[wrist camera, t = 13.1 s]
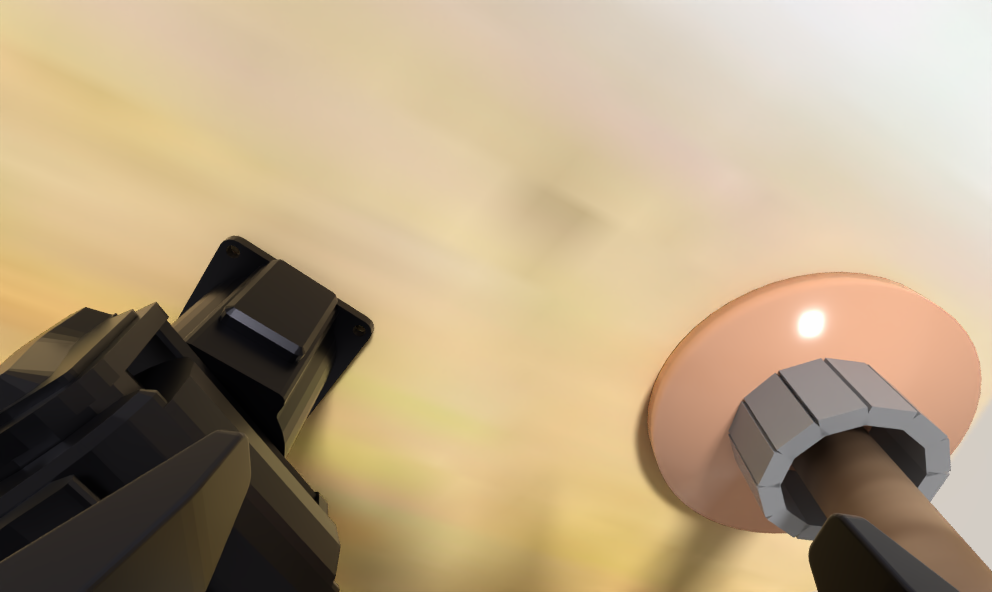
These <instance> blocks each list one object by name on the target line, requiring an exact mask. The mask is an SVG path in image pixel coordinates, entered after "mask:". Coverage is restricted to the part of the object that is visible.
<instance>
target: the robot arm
mask: <svg viewBox="0 0 992 592" xmlns="http://www.w3.org/2000/svg"><path fill="white" fill-rule="evenodd" d="M231 246H235V247H237V248H238V249H239V251H240V254H236V253H234V252H233V251H232V249H231ZM168 317H169V316H168V315H167V314H166V313H165V312H164V310H163V309H162V308H161V307H160V306H159V305H158V303H157V302H154V303H152V304H150V305H148V306H146V307H144V308H142V309H140V310H138V311H136V312H135V311H134V310H133V309H132V310H129V311H127V312H124V313H122V314H120V315H117V314H116V313H115V314H113V315H111V314H107V313H104V312H100V311H97V310H94V309H90V308H87V307H85V308H83V309H81V310H79V311H77V312H75V313H73V314H71V315H69V316H68V317H66V318H65V319H63V320H62V321H60V322H59V323H57V324H55V325H54V326H52V327H51V328H49V329H48V330H46V331H45V332H43V333H42V334H40V335H39V336H37V337H36V338H34V339H33V340H31V341H30V342H28V343H27V344H25V345H24V346H23V347H21V348H20V349H18V350H17V351H16V352H14V353H13V354H12V355H11V356H10V357H9V358H8V359H6V360H5V361H4V362H3V363H2V364H1V365H0V592H339V590H340V589H339V586H338V584H337V583H336V582H335V581H334V579H335V576H336V570H337V564H338V558H339V552H340V541H339V537H338V532H337V528H336V525H335V524H334V522H333V521H332V520H331V519H330V518H329V517H328V503H327V501H326V500H325V499H324V498H323V497H322V496H321V494H320V493H319V492H314V491H313V490H312V489H311V488H310V486H309V485H308V484H307V483H306V482H305V481H304V479H303V478H302V477H301V476H300V475H299V474H298V473H297V471H296V470H295V469H294V468H293V467H292V466H291V464H290V463H289V462H288V461H287V460H286V457H287V455H288V453H289V451H290V449H291V448H292V446H293V444H294V442H295V440H296V438H297V436H298V434H299V432H300V430H301V428H302V426H303V424H304V422H305V420H306V419H307V418H308V416H309V415H310V414H311V412H312V411H313V410H314V409H315V407H316V406H317V405H318V403H319V402H320V401H321V400H322V398H323V397H324V396H325V394H326V393H327V392H328V391H329V389H330V388H331V387H332V385H333V384H334V383H335V382H336V380H337V379H338V378H339V376H340V375H341V374H342V373H343V371H344V370H345V369H346V368H347V366H348V365H349V364H350V362H351V361H352V360H353V359H354V357H355V356H356V355H357V353H358V352H359V351H360V350H361V348H362V347H363V346H364V344H365V343H366V342H367V341H368V339H369V338H370V336H371V334H372V332H373V329H374V324H373V322H372V321H371V320H370V319H369V318H368V317H367V316H365V315H363V314H362V313H360V312H359V311H357V310H356V309H354V308H352V307H351V306H349V305H348V304H346V303H345V302H343V301H341V300H340V299H338V298H337V297H336V295H335V294H334V293H333V292H331V291H330V290H328V289H327V288H325V287H324V286H322V285H320V284H319V283H317V282H316V281H314V280H313V279H311V278H309V277H308V276H306V275H305V274H303V273H302V272H300V271H298V270H297V269H295V268H294V267H292V266H291V265H289V264H287V263H286V262H284V261H283V260H277V259H275V258H274V257H272V256H271V255H269V254H267V253H266V252H264V251H263V250H261V249H260V248H258V247H256V246H255V245H253V244H252V243H250V242H249V241H247V240H245V239H244V238H242V237H239V236H231V237H228V238H227V239H226V240H224V241H223V242H222V243H221V244H220V246H219V248H218V250H217V251H216V253H215V255H214V257H213V258H212V260H211V262H210V264H209V265H208V267H207V269H206V271H205V272H204V274H203V276H202V278H201V279H200V281H199V283H198V285H197V286H196V288H195V290H194V292H193V293H192V295H191V297H190V298H189V300H188V302H187V304H186V305H185V307H184V309H183V311H182V312H181V314H180V316H179V318H178V319H177V320H176V321H175V322H174V323H173V324H172V325H170V323H169V322H168V321H167V319H168ZM358 325H360V326H363V327H364V328H365V331H359V330H358V329H357V328H356V326H358ZM809 563H810V567H811V570H812V574H813V577H814V580H815V584H816V587H817V590H818V592H960V591H959V590H958V589H956V588H955V587H954V586H952V585H951V584H950V583H948V582H947V581H946V580H944V579H943V578H942V577H941V576H939V575H938V574H937V573H935V572H934V571H933V570H931V569H930V568H929V567H928V566H926V565H925V564H924V563H922V562H921V561H920V560H918V559H917V558H916V557H914V556H913V555H912V554H911V553H909V552H908V551H907V550H905V549H904V548H903V547H901V546H900V545H899V544H898V543H896V542H895V541H894V540H892V539H891V538H890V537H888V536H887V535H886V534H884V533H883V532H882V531H881V530H879V529H878V528H877V527H875V526H874V525H873V524H871V523H870V522H869V521H867V520H866V519H865V518H863V517H860V516H856V515H849V514H842V513H834V514H832V515H830V516H829V517H828V518H827V520H826V521H825V523H824V525H823V526H822V528H821V529H820V531H819V533H818V534H817V536H816V537H815V539H814V541H813V542H812V544H811V546H810V548H809Z"/></svg>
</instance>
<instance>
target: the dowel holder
mask: <svg viewBox="0 0 992 592" xmlns="http://www.w3.org/2000/svg"><path fill="white" fill-rule="evenodd" d="M980 391H981V370H980V362H979V359H978V355H977V352H976V349H975V346H974V345H973V343H972V341H971V339H970V337H969V336H968V334H967V332H966V331H965V330H964V329H963V327H962V326H961V325H960V324H959V323H958V322H957V320H956V319H955V318H953V317H952V316H951V315H949V314H948V313H947V312H946V311H944V310H943V309H942V308H941V307H939V306H937V305H936V304H934V303H933V302H931V301H930V300H928V299H927V298H925V297H923V296H922V295H920V294H919V293H917V292H915V291H913V290H912V289H910V288H908V287H906V286H904V285H902V284H900V283H897V282H894V281H891V280H888V279H886V278H882V277H877V276H872V275H867V274H861V273H848V272H831V273H816V274H810V275H803V276H797V277H793V278H789V279H785V280H782V281H778V282H774V283H771V284H769V285H766V286H763V287H761V288H758V289H756V290H753V291H751V292H749V293H747V294H745V295H743V296H741V297H739V298H737V299H735V300H733V301H731V302H729V303H728V304H726V305H725V306H723V307H722V308H720V309H719V310H717V311H715V312H714V313H712V314H711V315H710V316H708V317H707V318H706V319H705V320H704V321H702V322H701V323H700V324H699V325H697V326H696V327H695V328H694V329H693V330H692V331H691V332H690V333H689V334H688V335H687V336H686V337H685V338H684V339H683V340H682V341H681V342H680V343H679V345H678V346H677V347H676V349H675V350H674V351H673V352H672V354H671V355H670V356H669V358H668V359H667V361H666V363H665V364H664V366H663V368H662V369H661V371H660V373H659V375H658V377H657V380H656V382H655V385H654V387H653V389H652V393H651V397H650V402H649V406H648V418H647V422H648V434H649V438H650V442H651V446H652V449H653V452H654V455H655V458H656V461H657V464H658V467H659V469H660V471H661V473H662V476H663V478H664V480H665V482H666V483H667V484H668V486H669V487H670V489H671V490H672V492H673V493H674V494H675V495H676V496H677V497H678V498H679V499H680V500H681V501H682V502H683V503H684V504H686V505H687V506H688V507H690V508H691V509H692V510H694V511H695V512H697V513H698V514H700V515H702V516H704V517H706V518H707V519H709V520H712V521H714V522H717V523H719V524H722V525H725V526H729V527H732V528H736V529H740V530H746V531H752V532H760V533H788V534H789V535H791V536H792V537H795V536H796V537H797V539H805V540H814V539H815V537H816V536H817V534H818V533H819V531H820V529H821V528H822V526H823V525H824V523H825V521H826V520H827V518H826V516H825V514H824V513H823V511H822V510H821V508H820V507H819V505H818V504H817V502H816V501H815V499H814V498H813V496H812V495H811V493H810V492H809V490H808V489H807V487H806V485H805V484H804V482H803V481H802V479H801V478H800V476H799V475H798V473H797V472H796V470H795V469H794V467H793V466H792V462H793V460H794V458H796V457H797V456H798V455H800V454H801V453H803V452H804V451H805V450H807V449H808V448H810V447H811V446H812V445H814V444H815V443H816V442H818V441H819V440H821V439H822V438H823V437H825V436H827V435H831V434H835V433H838V432H842V431H846V430H850V429H853V428H857V427H861V426H863V428H864V429H865V430H866V431H867V432H868V433H869V434H870V435H871V437H872V438H873V439H874V440H875V441H876V442H877V443H878V444H879V445H880V447H881V448H882V449H883V450H884V451H885V452H886V453H887V454H888V456H889V457H890V458H891V459H892V460H893V461H894V462H895V463H896V465H897V466H898V467H899V468H900V469H901V470H902V471H903V472H904V473H905V475H906V476H907V477H908V478H909V479H910V480H911V481H912V482H913V484H914V485H915V486H916V487H917V488H918V489H919V490H920V491H921V492H922V494H923V495H924V496H925V497H926V498H927V499H928V500H929V501H931V500H932V499H933V497H934V496H935V494H936V493H937V492H938V490H939V489H940V487H941V486H942V484H943V483H944V482H945V480H946V479H947V477H948V476H949V473H948V472H949V471H951V466H950V455H951V454H952V453H953V452H954V450H955V449H956V448H957V446H958V445H959V444H960V442H961V440H962V439H963V437H964V435H965V434H966V432H967V430H968V429H969V427H970V424H971V422H972V420H973V417H974V415H975V413H976V409H977V405H978V402H979V398H980Z"/></svg>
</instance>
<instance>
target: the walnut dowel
mask: <svg viewBox="0 0 992 592" xmlns="http://www.w3.org/2000/svg"><path fill="white" fill-rule="evenodd" d="M792 466H793V467H794V469H795V470H796V472H797V473H798V475H799V476H800V478H801V479H802V481H803V482H804V484H805V485H806V487H807V489H808V490H809V492H810V493H811V495H812V496H813V498H814V499H815V501H816V502H817V504H818V505H819V507H820V508H821V510H822V511H823V513H824V514H825V516H826V518H828V517H829V516H830V515H832V514H834V513H842V514H849V515H856V516H860V517H863V518H865V519H866V520H867V521H869V522H870V523H871V524H873V525H874V526H875V527H877V528H878V529H879V530H881V531H882V532H883V533H884V534H886V535H887V536H888V537H890V538H891V539H892V540H894V541H895V542H896V543H898V544H899V545H900V546H901V547H903V548H904V549H905V550H907V551H908V552H909V553H911V554H912V555H913V556H914V557H916V558H917V559H918V560H920V561H921V562H922V563H924V564H925V565H926V566H928V567H929V568H930V569H931V570H933V571H934V572H935V573H937V574H938V575H939V576H941V577H942V578H943V579H944V580H946V581H947V582H948V583H950V584H951V585H952V586H954V587H955V588H956V589H958V590H959V591H960V592H992V571H991V570H990V569H989V567H988V566H986V564H985V563H984V562H983V561H982V560H981V559H980V557H979V556H978V555H977V554H976V553H975V552H974V551H973V550H972V549H971V547H970V546H969V545H968V544H967V543H966V542H965V541H964V540H963V538H962V537H961V536H960V535H959V534H958V533H957V532H956V531H955V529H954V528H953V527H952V526H951V525H950V524H949V523H948V522H947V521H946V519H945V518H944V517H943V516H942V515H941V514H940V513H939V512H938V510H937V509H936V508H935V507H934V506H933V505H932V504H931V503H930V501H929V500H928V499H927V498H926V497H925V496H924V495H923V494H922V492H921V491H920V490H919V489H918V488H917V487H916V486H915V485H914V484H913V482H912V481H911V480H910V479H909V478H908V477H907V476H906V475H905V473H904V472H903V471H902V470H901V469H900V468H899V467H898V466H897V465H896V463H895V462H894V461H893V460H892V459H891V458H890V457H889V456H888V454H887V453H886V452H885V451H884V450H883V449H882V448H881V447H880V445H879V444H878V443H877V442H876V441H875V440H874V439H873V438H872V437H871V435H870V434H869V433H868V432H867V431H866V430H865V429H864V428H863V426H861V427H857V428H853V429H850V430H846V431H842V432H838V433H835V434H831V435H827V436H825V437H823V438H822V439H821V440H819V441H818V442H816V443H815V444H814V445H812V446H811V447H810V448H808V449H807V450H805V451H804V452H803V453H801V454H800V455H798V456H797V457H796V458H794V460H793V462H792Z"/></svg>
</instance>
